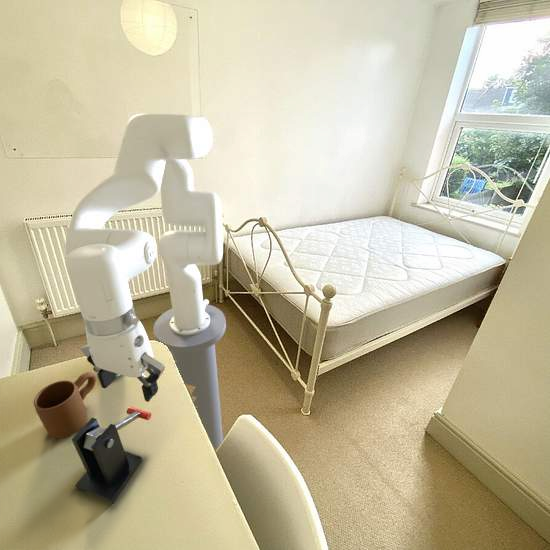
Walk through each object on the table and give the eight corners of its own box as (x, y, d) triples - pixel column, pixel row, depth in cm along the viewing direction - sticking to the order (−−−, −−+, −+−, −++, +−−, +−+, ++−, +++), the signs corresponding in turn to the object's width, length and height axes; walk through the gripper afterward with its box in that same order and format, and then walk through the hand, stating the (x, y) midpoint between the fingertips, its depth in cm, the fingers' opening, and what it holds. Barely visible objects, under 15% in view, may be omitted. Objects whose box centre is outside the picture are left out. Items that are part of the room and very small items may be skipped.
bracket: (109, 448, 63) (93, 406, 57) (142, 460, 61) (129, 418, 55) (76, 489, 56) (54, 447, 50) (113, 504, 54) (94, 462, 48)
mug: (91, 390, 75) (81, 361, 71) (113, 402, 72) (103, 373, 68) (40, 430, 66) (24, 400, 61) (62, 446, 63) (47, 416, 58)
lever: (130, 414, 65) (132, 403, 65) (150, 421, 64) (152, 409, 64) (76, 445, 52) (79, 431, 52) (100, 454, 51) (103, 440, 51)
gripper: (168, 314, 53) (180, 385, 61) (86, 296, 57) (108, 365, 65) (139, 342, 46) (157, 417, 54) (49, 320, 50) (78, 392, 58)
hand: (130, 389), depth 60 cm, fingers open, 9 cm apart
